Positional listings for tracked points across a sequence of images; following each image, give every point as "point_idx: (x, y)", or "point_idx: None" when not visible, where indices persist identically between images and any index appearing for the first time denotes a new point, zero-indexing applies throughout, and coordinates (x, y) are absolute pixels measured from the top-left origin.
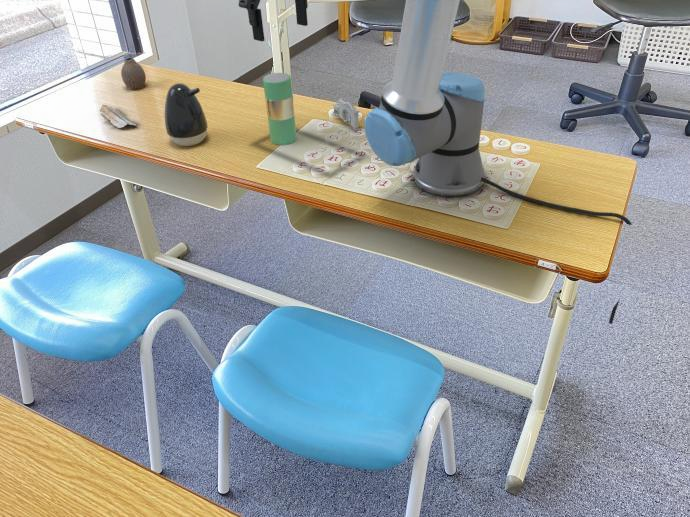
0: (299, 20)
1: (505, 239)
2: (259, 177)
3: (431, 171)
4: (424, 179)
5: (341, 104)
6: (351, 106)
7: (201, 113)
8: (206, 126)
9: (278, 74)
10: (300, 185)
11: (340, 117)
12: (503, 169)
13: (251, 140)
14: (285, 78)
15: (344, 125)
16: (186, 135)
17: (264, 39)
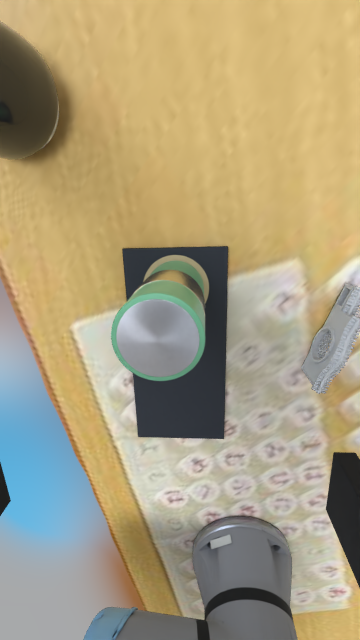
0: (341, 494)
1: None
2: (55, 355)
3: (198, 581)
4: (194, 559)
5: (342, 332)
6: (332, 371)
7: (9, 135)
8: (39, 145)
9: (179, 325)
10: (88, 420)
11: (332, 312)
12: (307, 584)
13: (132, 228)
14: (168, 369)
15: (309, 336)
16: None
17: (6, 506)
